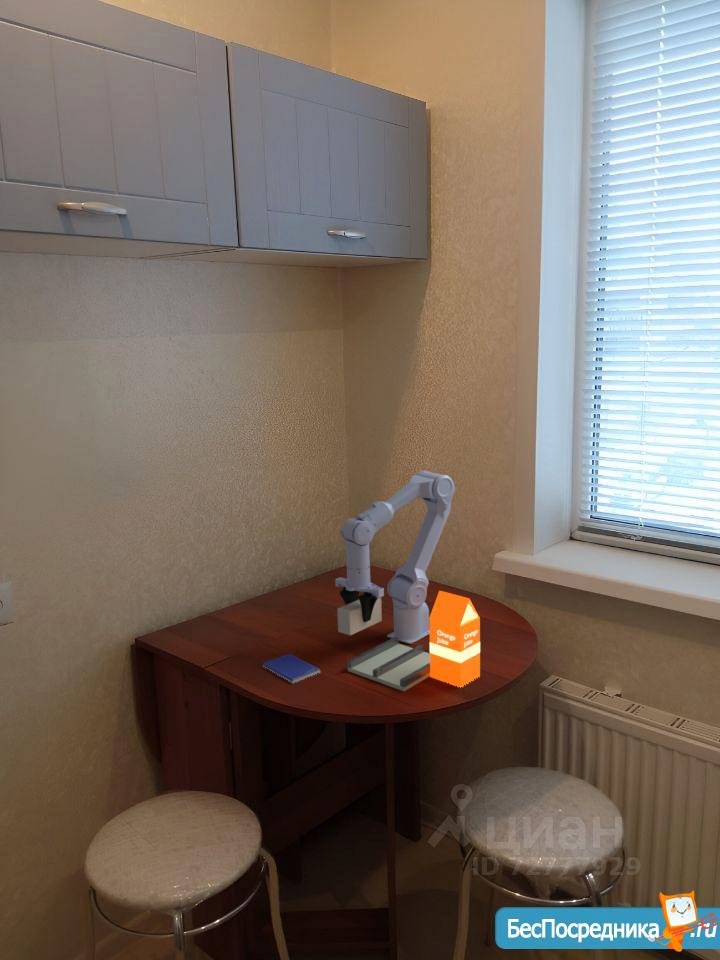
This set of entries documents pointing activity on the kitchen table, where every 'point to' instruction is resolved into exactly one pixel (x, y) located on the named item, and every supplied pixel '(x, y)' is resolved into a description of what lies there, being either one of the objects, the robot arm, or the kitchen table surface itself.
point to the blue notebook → (291, 668)
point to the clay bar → (357, 617)
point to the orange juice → (454, 640)
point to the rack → (392, 664)
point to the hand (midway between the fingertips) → (360, 618)
